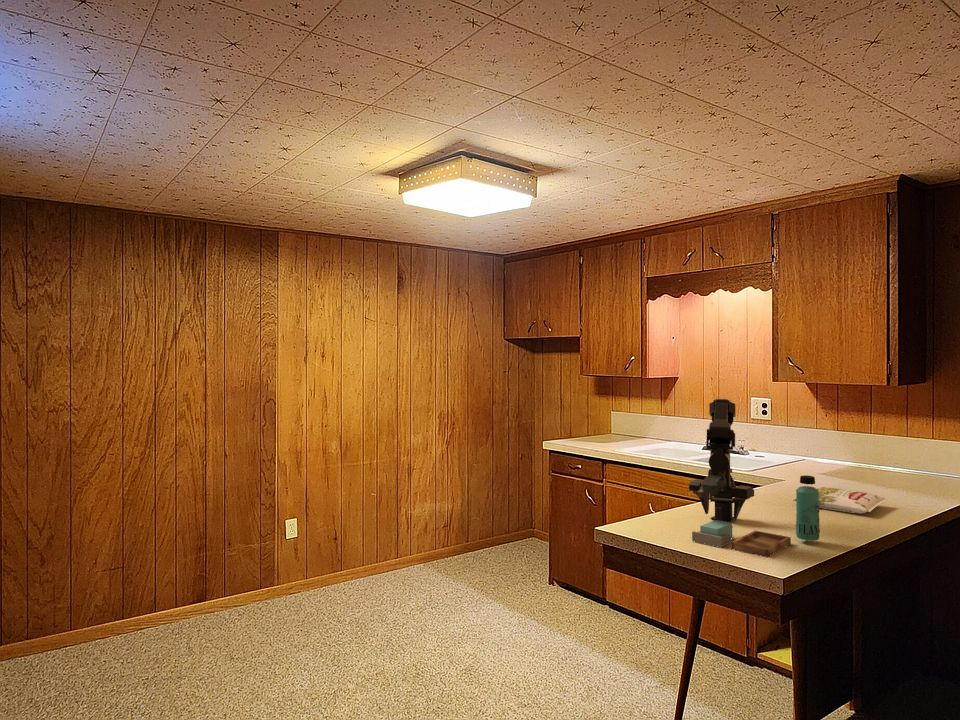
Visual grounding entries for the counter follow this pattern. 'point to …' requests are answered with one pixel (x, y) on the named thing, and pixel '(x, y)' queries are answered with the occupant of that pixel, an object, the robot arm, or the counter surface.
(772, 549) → the tray
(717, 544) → the dock
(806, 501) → the beverage bottle
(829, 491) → the frozen beans
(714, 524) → the mint rectangular block
